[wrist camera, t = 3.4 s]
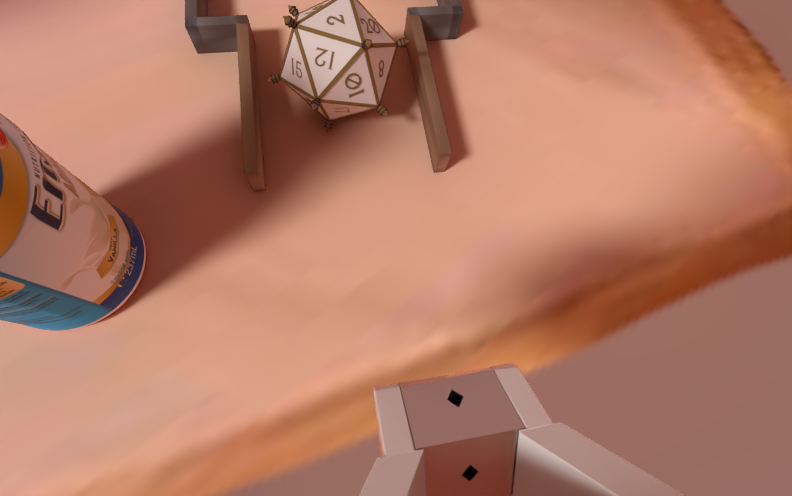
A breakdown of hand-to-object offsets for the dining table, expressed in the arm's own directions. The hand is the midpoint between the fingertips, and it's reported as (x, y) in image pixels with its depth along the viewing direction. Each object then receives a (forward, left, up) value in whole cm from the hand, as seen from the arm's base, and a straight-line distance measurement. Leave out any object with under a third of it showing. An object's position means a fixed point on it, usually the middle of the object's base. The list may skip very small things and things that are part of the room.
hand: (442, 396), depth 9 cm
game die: (0, +21, -18) cm, 28 cm away
